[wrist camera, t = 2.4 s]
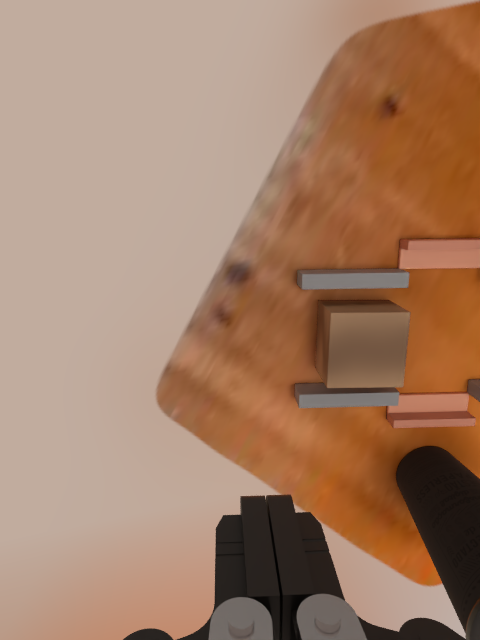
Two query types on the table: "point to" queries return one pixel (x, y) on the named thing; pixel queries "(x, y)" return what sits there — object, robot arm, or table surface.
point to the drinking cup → (447, 524)
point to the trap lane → (399, 406)
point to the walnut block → (361, 343)
